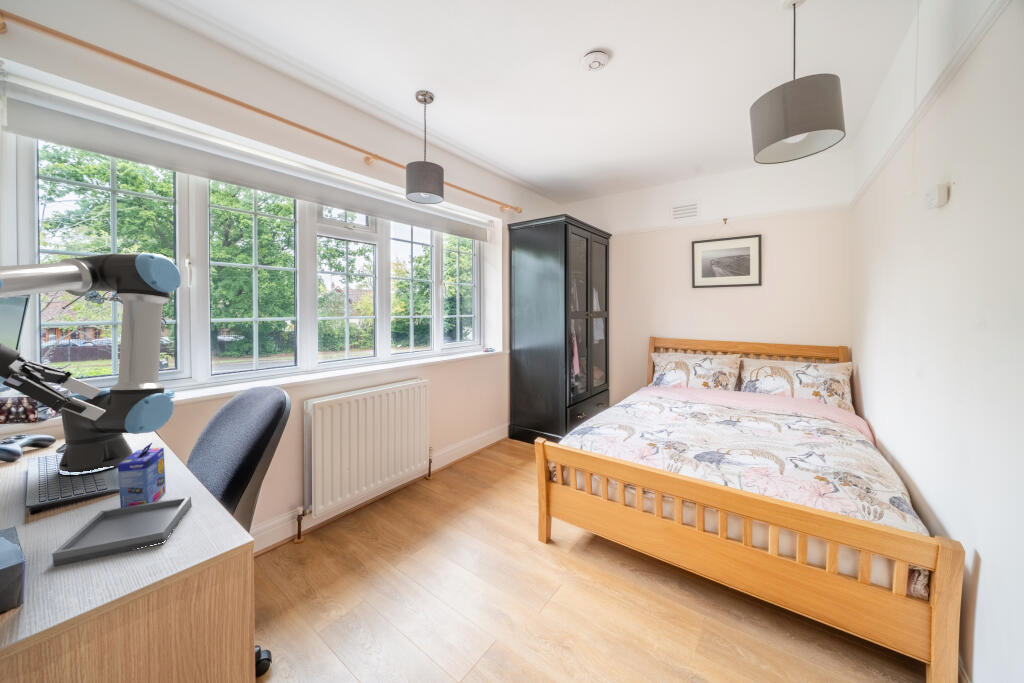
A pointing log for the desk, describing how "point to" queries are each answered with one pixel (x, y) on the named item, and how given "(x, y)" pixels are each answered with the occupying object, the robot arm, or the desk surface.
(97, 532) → the dock tray
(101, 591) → the desk surface
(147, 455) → the ink cartridge box
